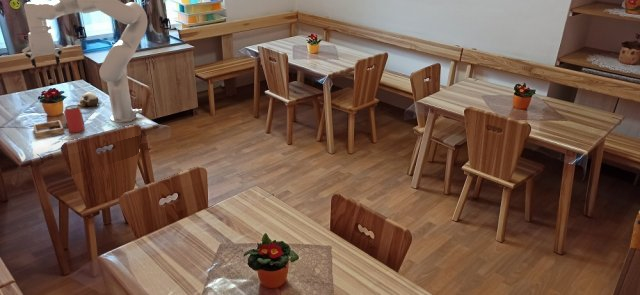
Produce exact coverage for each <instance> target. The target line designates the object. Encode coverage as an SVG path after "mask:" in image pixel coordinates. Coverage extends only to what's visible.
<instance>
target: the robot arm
mask: <svg viewBox="0 0 640 295" xmlns="http://www.w3.org/2000/svg"><path fill="white" fill-rule="evenodd" d="M23 8H24V11H25V17H26V22H27V25H28V29H29V32H28V33H27V35H28V44H29V45H28V46H27V47H25V48H23V49H22V50H21V52H22V53H23V54H24V55H25V56H26V57H27V58H28V59H30V61H31V65H32V67H33V66H34V68H35V69H36V68H37V63H36V59H35V57H36V56H40V55H49V54H53V55H54V58H55V62H56V64H57V66H59V65H60V63H61V61H60V56H61V54H62V52H63V50H64V45H61V44H57V43H55V42H54V39H53V35H52V33H51V31H49V30H52V26H50V25H47V20H48V21H52V20H56V19H57V18H59V17H62V16H66V15H71V14H75V13H77V14H78V13H82V14H90V13H94V12H99V11H100V12H101V13H103V14H105V15H107V16H108V17H110V18H112V19H113V20H116V21H117V22H119V23H122V24H124V25H126V27H125V29H124V30H123V33H122V35H121V36H120V38H119V39H118V41H117V42H115V44H113V46H112V47H111V48H109V51H108V53H106V54H107V55H106V56H105V58H104V60H103V62H102V64H101V65H100V68H99V76H100V78H101V80H103V81H104V82H105V83H107V85H106V86H107V89H108V90H107V91H108V95H109V97H108V98H109V101H110V107H111V112H112V115H111V116H110V117H109V120H110V121H111V122H113V123H114V122H115V123H122V124H125V123H129V122H133V121H134V120H136V119H137V115H138V114H142V113H143V109H142V108H140V109H139V108H135V109H134V108H133V107H132V99H131V94H130V89H129V88H130V87H129V80H128V68H127V66H128V64H129V62H130V61H131V59H133V57H134V55H135V53H136V51H137V49H138V48H139V45H140V43H141V42H142V39H143V38H144V36H145V33H146V32H147V28H148V16H147V13H146V11H145V9H144V7H142V5H141V4H139V3H138V2H134V1H131V2H127V3H124V2H122V1H120V0H50V1H47V2H44V3H41V2H39V1H28V2H25V3H24V5H23ZM56 48H58V49H59V50H58V51H56ZM29 50H30V52H31V54H29V53H28V51H29ZM135 118H136V119H135ZM132 120H133V121H132Z"/></svg>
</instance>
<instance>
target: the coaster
mask: <svg viewBox="0 0 640 295" xmlns="http://www.w3.org/2000/svg"><path fill="white" fill-rule="evenodd" d="M83 126H84V130H83V131H81V132H77V133H72V132H69V129H68V128H66V129H64V132H65V134H66V136H67V137H71V136H74V135H75V136H76V135H80V134H85V133H88V132H89V130H88V129H87V127H86V126H85V125H83Z"/></svg>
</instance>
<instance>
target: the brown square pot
mask: <svg viewBox="0 0 640 295" xmlns="http://www.w3.org/2000/svg"><path fill="white" fill-rule="evenodd" d="M79 109H80V112H81V117H82V121H83V126H85V122H84V118H83V112H82V109H81V108H79ZM63 113H64V118H65V122H66V124H67V120H66V116H65V109H64V110H63Z"/></svg>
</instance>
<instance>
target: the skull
mask: <svg viewBox="0 0 640 295" xmlns="http://www.w3.org/2000/svg"><path fill="white" fill-rule="evenodd" d="M98 102H99V97H98V95H96V94H94V93H93V92H90V91H88V92H85V93H83V95H82V96H81V97H80V99H79V101H78V103H77V104H76V105H77V106H78V108H80V110H83V109H89V108H96V107H98V106H97V104H98Z"/></svg>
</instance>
